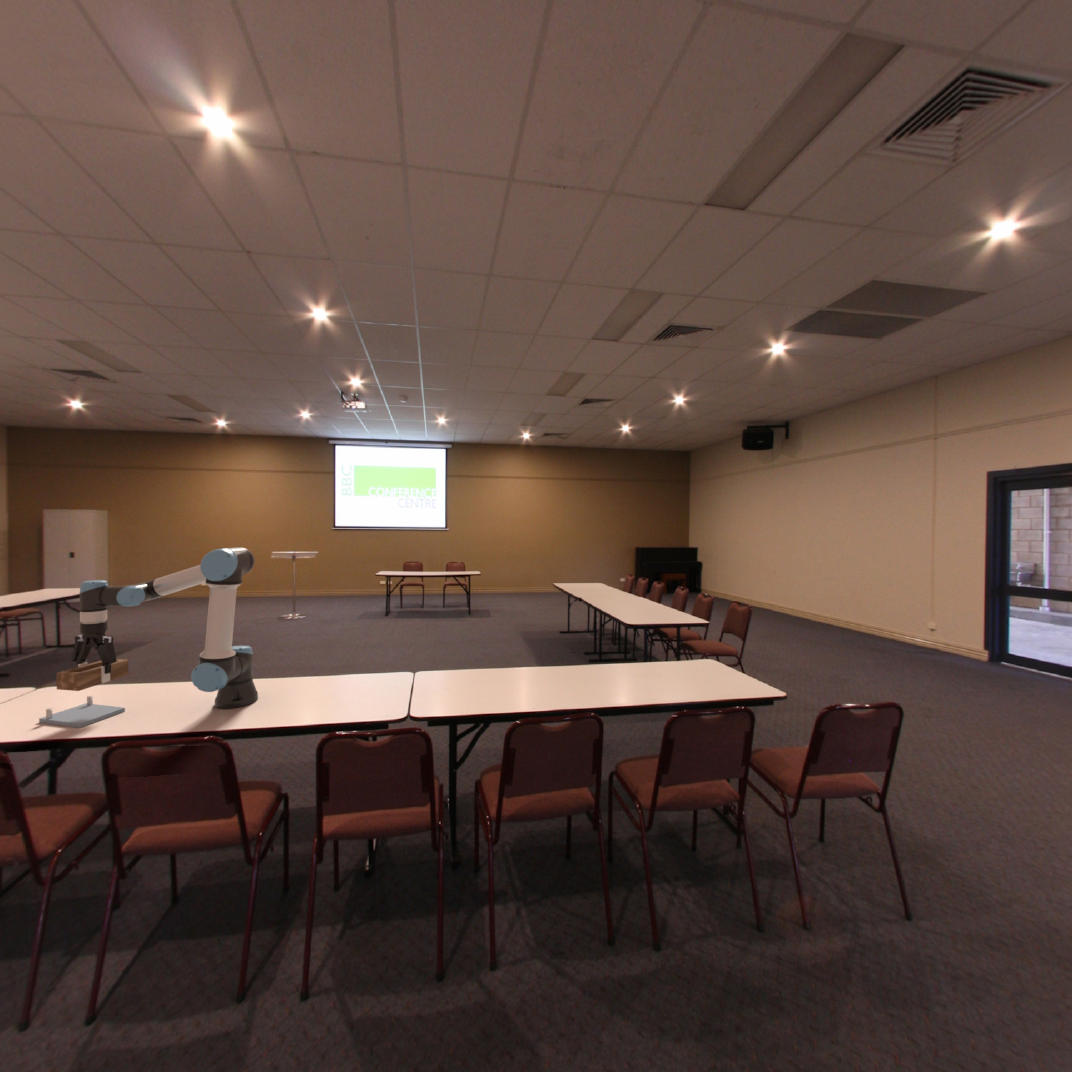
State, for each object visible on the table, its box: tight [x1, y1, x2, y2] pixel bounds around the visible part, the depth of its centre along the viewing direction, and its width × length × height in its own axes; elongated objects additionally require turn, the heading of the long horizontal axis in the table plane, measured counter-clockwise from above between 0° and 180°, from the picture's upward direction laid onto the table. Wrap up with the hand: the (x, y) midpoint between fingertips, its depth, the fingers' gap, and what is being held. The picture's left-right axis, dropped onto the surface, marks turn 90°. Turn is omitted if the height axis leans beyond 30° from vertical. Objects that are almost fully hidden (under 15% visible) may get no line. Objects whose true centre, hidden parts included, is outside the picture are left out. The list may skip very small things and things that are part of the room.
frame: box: [56, 658, 129, 692], centre depth 176 cm, size 9×18×6 cm, turn 173°
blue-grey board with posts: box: [38, 695, 126, 729], centre depth 178 cm, size 20×15×5 cm
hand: (94, 681), depth 176 cm, fingers closed on frame, 9 cm apart
